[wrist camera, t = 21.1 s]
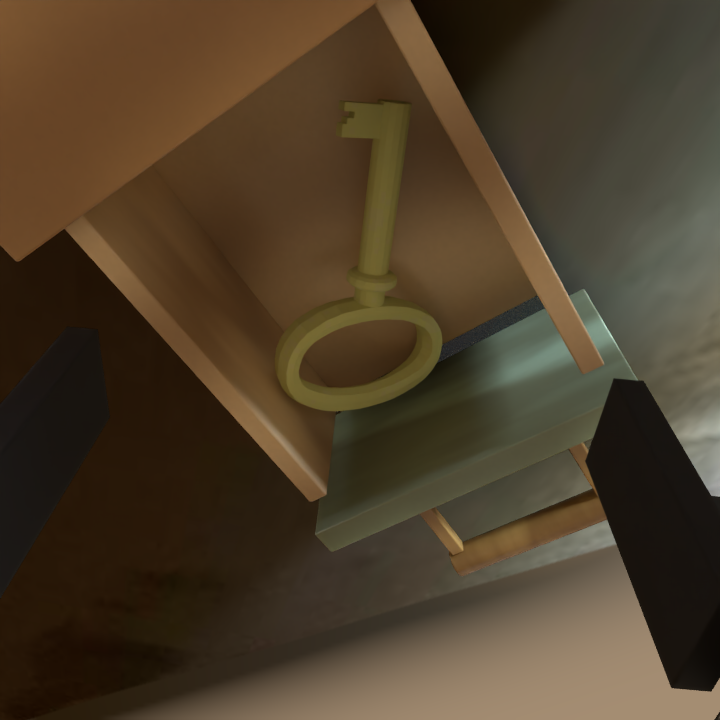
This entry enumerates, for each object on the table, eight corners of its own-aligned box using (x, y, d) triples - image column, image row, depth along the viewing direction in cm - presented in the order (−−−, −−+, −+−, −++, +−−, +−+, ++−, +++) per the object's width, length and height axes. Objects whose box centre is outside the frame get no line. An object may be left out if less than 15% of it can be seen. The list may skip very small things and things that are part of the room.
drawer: (649, 413, 32) (717, 533, 26) (410, 517, 36) (415, 644, 30) (369, -124, 22) (362, -159, 15) (77, 108, 26) (-31, 162, 19)
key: (382, 78, 24) (415, 79, 22) (433, 366, 30) (463, 384, 28) (194, 138, 21) (216, 144, 20) (292, 438, 28) (315, 462, 26)
